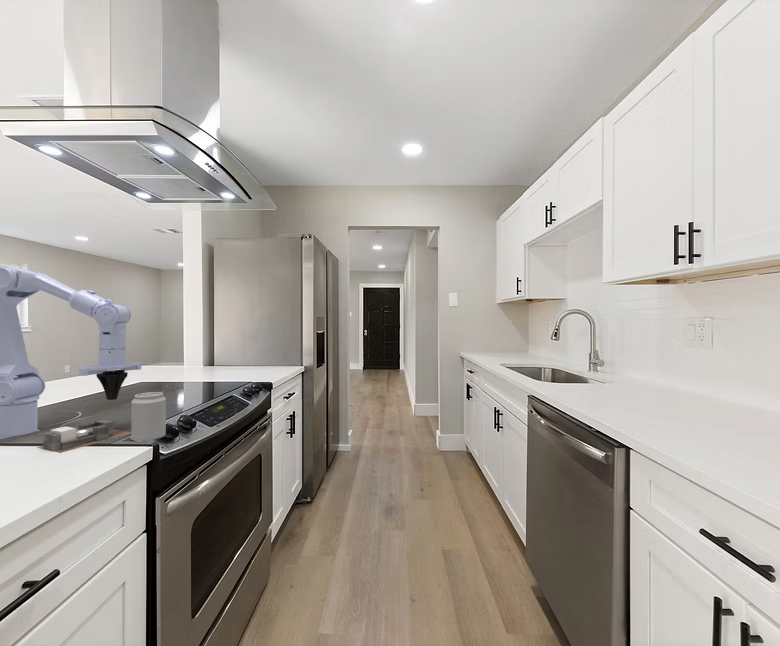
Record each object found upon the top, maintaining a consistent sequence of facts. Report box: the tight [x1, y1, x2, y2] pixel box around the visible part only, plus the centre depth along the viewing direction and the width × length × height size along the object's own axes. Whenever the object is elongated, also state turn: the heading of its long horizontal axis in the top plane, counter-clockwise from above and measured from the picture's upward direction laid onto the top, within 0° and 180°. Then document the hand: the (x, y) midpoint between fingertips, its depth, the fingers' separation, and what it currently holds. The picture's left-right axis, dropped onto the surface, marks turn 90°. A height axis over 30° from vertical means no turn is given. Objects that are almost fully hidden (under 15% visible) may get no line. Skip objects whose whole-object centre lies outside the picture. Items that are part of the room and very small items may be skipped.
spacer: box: [50, 426, 77, 443], centre depth 87 cm, size 4×3×4 cm
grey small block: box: [76, 419, 115, 439], centre depth 93 cm, size 4×8×3 cm, turn 159°
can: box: [130, 391, 167, 442], centre depth 95 cm, size 8×8×12 cm
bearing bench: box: [36, 422, 131, 454], centre depth 92 cm, size 9×16×4 cm, turn 159°
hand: (111, 399), depth 100 cm, fingers closed
